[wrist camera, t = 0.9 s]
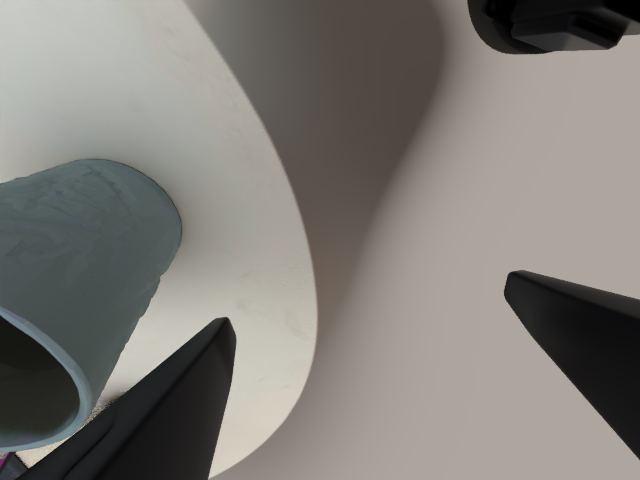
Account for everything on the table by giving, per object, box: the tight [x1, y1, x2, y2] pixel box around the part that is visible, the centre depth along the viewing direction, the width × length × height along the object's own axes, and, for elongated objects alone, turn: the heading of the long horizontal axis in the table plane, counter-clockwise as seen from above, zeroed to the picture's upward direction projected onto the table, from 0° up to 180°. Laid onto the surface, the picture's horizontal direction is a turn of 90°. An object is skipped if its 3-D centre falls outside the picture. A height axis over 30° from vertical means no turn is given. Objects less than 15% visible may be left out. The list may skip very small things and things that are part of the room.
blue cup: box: [0, 159, 181, 452], centre depth 15 cm, size 10×10×12 cm
